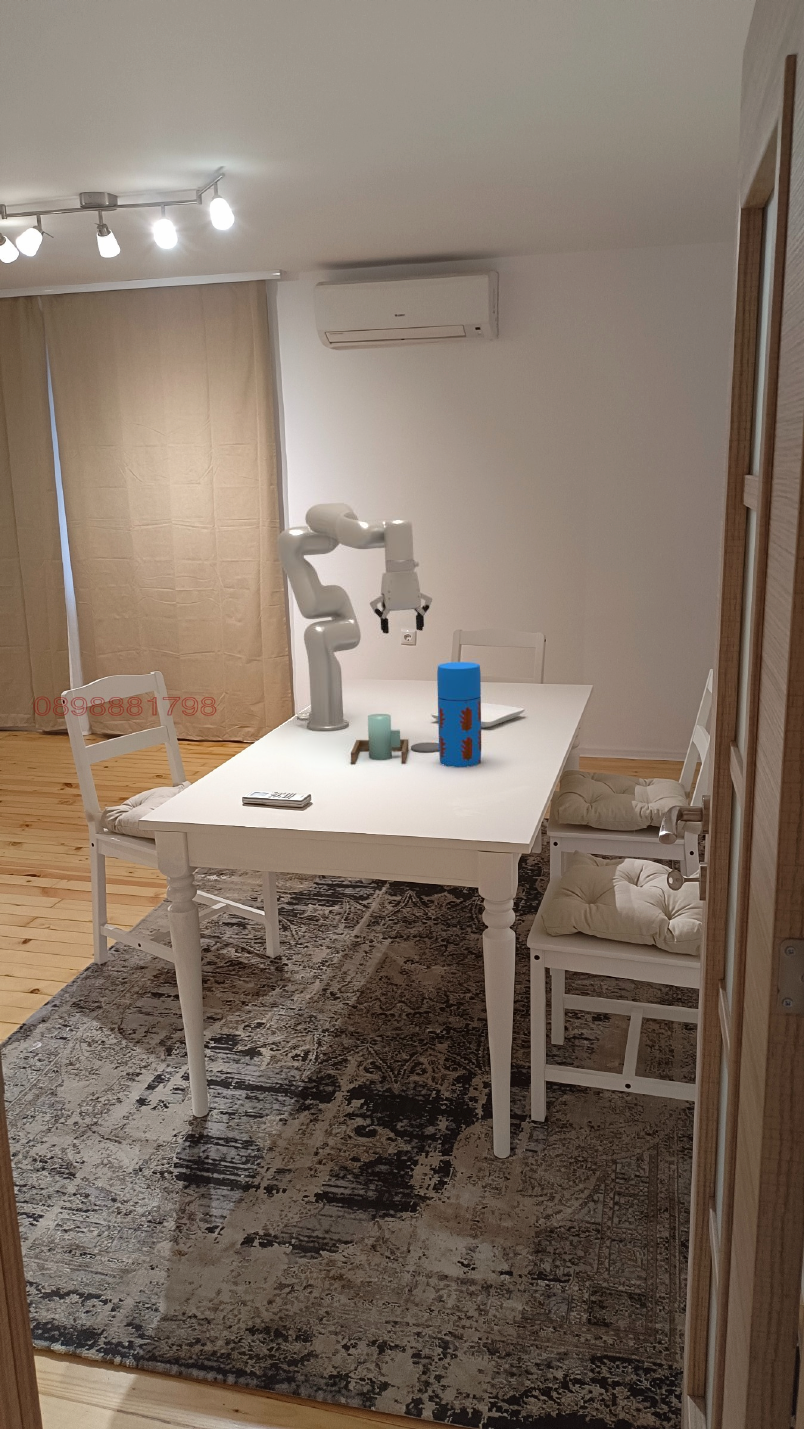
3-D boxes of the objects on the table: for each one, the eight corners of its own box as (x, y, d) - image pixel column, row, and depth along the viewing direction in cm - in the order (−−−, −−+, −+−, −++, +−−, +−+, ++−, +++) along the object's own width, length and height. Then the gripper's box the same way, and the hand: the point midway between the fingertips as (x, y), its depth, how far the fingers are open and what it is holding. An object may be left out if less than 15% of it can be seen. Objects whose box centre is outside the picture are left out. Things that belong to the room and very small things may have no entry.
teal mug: (368, 760, 268) (366, 718, 266) (370, 754, 274) (368, 713, 272) (399, 759, 268) (398, 718, 266) (401, 754, 274) (400, 713, 271)
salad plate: (489, 732, 297) (489, 720, 296) (429, 724, 310) (429, 713, 309) (526, 718, 313) (526, 707, 313) (468, 711, 326) (468, 700, 325)
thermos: (486, 757, 267) (485, 662, 262) (475, 768, 257) (474, 669, 252) (446, 755, 271) (444, 661, 265) (433, 766, 261) (431, 668, 255)
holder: (351, 764, 265) (350, 752, 264) (356, 750, 278) (356, 739, 278) (405, 763, 264) (405, 752, 263) (408, 750, 278) (408, 739, 277)
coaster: (409, 752, 275) (409, 750, 274) (411, 744, 283) (411, 742, 283) (443, 752, 274) (443, 750, 274) (444, 744, 283) (444, 742, 283)
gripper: (425, 564, 279) (427, 627, 282) (364, 568, 274) (367, 633, 277) (435, 565, 272) (438, 630, 275) (373, 569, 267) (376, 635, 270)
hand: (402, 631), depth 276 cm, fingers open, 9 cm apart
